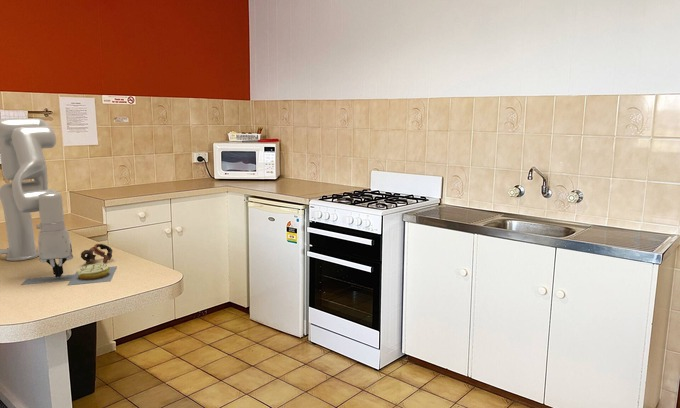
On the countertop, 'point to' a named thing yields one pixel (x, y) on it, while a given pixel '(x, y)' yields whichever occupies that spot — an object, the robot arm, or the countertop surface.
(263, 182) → the countertop surface
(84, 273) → the decorated donut
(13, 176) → the robot arm
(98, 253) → the pottery mug
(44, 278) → the t mat
